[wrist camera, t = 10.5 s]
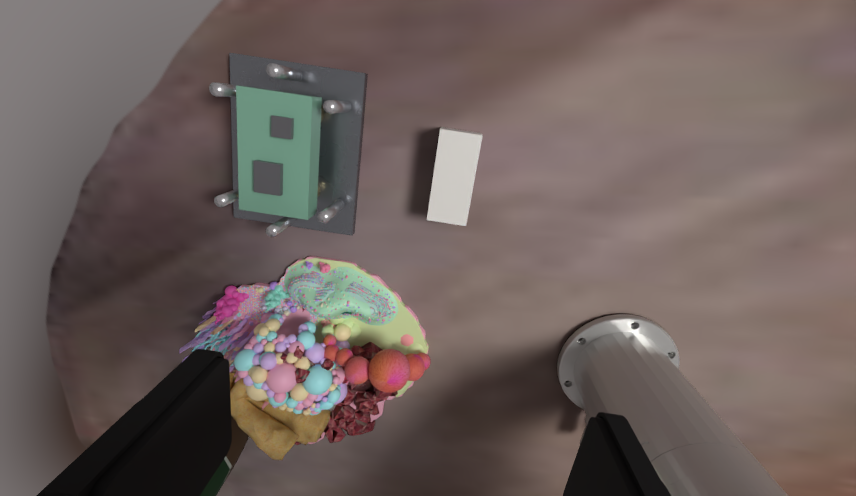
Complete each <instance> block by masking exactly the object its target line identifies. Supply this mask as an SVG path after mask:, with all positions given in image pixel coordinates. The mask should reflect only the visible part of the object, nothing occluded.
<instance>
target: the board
mask: <svg viewBox="0 0 856 496" xmlns="http://www.w3.org/2000/svg"><path fill="white" fill-rule="evenodd" d="M236 103H237V146H238V189H239V210H246V211H252V212H259V213H265V214H272V215H279V216H285V217H292V218H298V219H305V220H308V219H309V218H311V217H312V216H313V215H315V214H316V213H317V194H318V172H319V150H320V128H321V106H322V98H321V97H315V96H308V95H301V94H295V93H288V92H281V91H275V90H268V89H261V88H255V87H247V86H237V85H236Z"/></svg>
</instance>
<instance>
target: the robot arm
mask: <svg viewBox="0 0 856 496" xmlns="http://www.w3.org/2000/svg"><path fill="white" fill-rule="evenodd" d="M679 362H680V359H679V353H678V349H677V347H676V345H675V342H674V341H673V339H672V338H671V337H670V336H669V334H668V333H667V332H666V331H665V330H664V329H663V328H662V327H661V326H659V325H658V324H656V323H655V322H653V321H651V320H649V319H646V318H644V317H641V316H636V315H631V314H616V315H609V316H605V317H601V318H598V319H595V320H593V321H591V322H589V323H587V324H585V325H584V326H582V327H581V328H579V329H578V330H576V331H575V332H574V333H573V334H572V335H571V336H570V337H569V338H568V340H567V341H566V343H565V344H564V346H563V347H562V349H561V352H560V354H559V357H558V362H557V374H558V378H559V381H560V384H561V386H562V389H563V391H564V393H565V394H566V395H567V397H568V398H569V399H570V400H571V401H572V402H573V403H574V404H575V405H577V406H578V407H580V408H582V409H583V410H584V411H585V413H586V417H585V422H586V424H587V425H586V428H585V429H584V432H583V434H582V437H581V440H580V447H579V450H578V453H577V456H576V458H575V461H574V464H573V467H572V470H571V473H570V476H569V478H568V481H567V484H566V487H565V490H564V493H563V496H788V495H787V494H786V492H785V491H784V490H783V489H782V488H781V487H780V486H779V485H778V484H777V482H776V481H775V480H774V479H773V478H772V477H771V475H770V474H769V473H768V472H767V471H766V470H765V469H764V467H763V466H762V465H761V464H760V463H759V462H758V460H757V459H756V458H755V457H754V456H753V455H752V454H751V452H750V451H749V450H748V449H747V448H746V447H745V445H744V444H743V443H742V442H741V441H740V440H739V439H738V437H737V436H736V435H735V434H734V433H733V432H732V430H731V429H730V428H729V427H728V426H727V425H726V424H725V422H724V421H723V420H722V419H721V418H720V417H719V415H718V414H717V413H716V412H715V411H714V410H713V409H712V407H711V406H710V405H709V404H708V403H707V402H706V400H705V399H704V398H703V397H702V396H701V395H700V394H699V392H698V391H697V390H696V389H695V388H694V387H693V385H692V384H691V383H690V382H689V381H688V380H687V379H686V377H685V376H684V375H683V374H682V373H681V372H680V370H679ZM231 442H232V427H231V398H230V370H229V361H228V359H224V356H223V354H222V353H221V352H217V351H211V350H205V349H196V350H195V351H194V352H192V353H191V354H190V355H189V356H188V357H187V358H186V359H185V360H184V361H183V362H182V363H181V364H180V365H178V366H177V367H176V368H175V369H174V370H173V371H172V372H171V373H170V374H169V375H168V376H167V377H166V378H164V379H163V380H162V381H161V382H160V383H159V384H158V385H157V386H156V387H155V388H154V389H153V390H152V391H150V392H149V393H148V394H147V395H146V396H145V397H144V398H143V399H142V400H140V401H139V402H138V403H136V404H135V405H134V406H133V407H132V408H131V409H130V410H129V411H128V412H126V413H125V414H124V415H123V416H122V417H121V418H120V419H119V420H118V421H117V422H116V423H115V424H114V425H112V426H111V427H110V428H109V429H108V430H107V431H106V432H105V433H104V434H103V435H102V436H101V437H99V438H98V439H97V440H96V441H95V442H94V443H93V444H92V445H91V446H90V447H89V448H88V449H86V450H85V451H84V452H83V453H82V454H81V455H80V456H79V457H78V458H77V459H76V460H75V461H74V462H72V463H71V464H70V465H69V466H68V467H67V468H66V469H65V470H64V471H63V472H62V473H61V474H59V475H58V476H57V477H56V478H55V479H54V480H53V481H52V482H51V483H50V484H49V485H48V486H46V487H45V488H44V489H43V490H42V491H41V492H40V493H39V494H38V495H37V496H200V495H201V493H202V492H203V490H204V489H205V487H206V486H207V484H208V483H209V481H210V480H211V478H212V476H213V475H214V473H215V472H216V470H217V469H218V467H219V466H220V464H221V463H222V461H223V460H224V458H225V457H226V455H227V453H228V451H229V449H230V446H231Z"/></svg>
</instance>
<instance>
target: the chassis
mask: <svg viewBox="0 0 856 496" xmlns="http://www.w3.org/2000/svg"><path fill="white" fill-rule="evenodd" d="M367 75H368V74H366V73H360V72H353V71H346V70H340V69H333V68H327V67H320V66H313V65H307V64H300V63H294V62H287V61H280V60H274V59H267V58H261V57H254V56H247V55H241V54H234V53H230V84H224V83H211V84H210V86H209V90H210V93H211V94H212V95H214V96H219V97H231V129H232V168H233V190H232V191H229V192H227V193H224V194H221V195H219V196H216V197H215V198H214V203H215V204H216V206H218V207H224V206H226V205H228V204H231V203H233V206H234V217H235V218H242V219H248V220H255V221H261V222H268V223H273V224H272V225H270V226H269V227H267V228H266V233H267V235H268V236H270V237H275V236H276V235H278V234H279V233H280V232H282V231H283V230H284V229H286V228H287V227H289V226H294V227H300V228H307V229H313V230H320V231H326V232H333V233H339V234H346V235H353V234H354V232H355V220H356V208H357V196H358V184H359V172H360V160H361V148H362V136H363V124H364V112H365V99H366V87H367ZM236 85H237V86H247V87H255V88H261V89H268V90H275V91H281V92H288V93H295V94H301V95H308V96H315V97H321V98H322V106H321V128H320V150H319V172H318V194H317V213H316V214H315V215H313V216H312V217H311V218H309V219H308V220H305V219H298V218H292V217H285V216H279V215H272V214H265V213H259V212H252V211H246V210H239V189H238V146H237V103H236Z"/></svg>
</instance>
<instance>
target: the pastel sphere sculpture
mask: <svg viewBox="0 0 856 496" xmlns="http://www.w3.org/2000/svg"><path fill="white" fill-rule="evenodd" d="M281 276H282V275H281ZM280 279H281V280H280V282H272V283H271V284H265V283H255V284H253V285H245V284H244V285H241V286H240V287H238V288H237V287H235V286H232V285H231V286H228V287H227V288H226V289H225V294H226V295H224V296H223V297H221V298H220V299H219V300H217V301H216V302H214V303H213V304H215V303H216V305H217V306H216V307H214V309H213V310H210V311H207V312H206V313H205V315H204V316H203V317H202V318H203V319H204V320H203V321H202V322H200V323H199V324H200V325H199V326H198V327H197V328H196V329H195V333H196V332H198V331H199V330H200V332H199V333H198V334H197V335H196V337H195V338H194V339H193V340H191V341H190V342H189V343H187V344H186V345H184V346H183V347H181V348H180V349H179V354H180V353H182V352H183V351H185V350H186V349H188V348H190V347H191V346H192V347H194V349H193V350H192V351H191V352H193V351H194V350H196V349H205V350H206V349H207V348H208V347H210V346H211V347H210V348H209V349H208V350H211V351H217V352H221V353H222V354H223V356H224V359H228V361H229V370H230V398H231V416H232V417H233V418H234V419H235V420H236V422H237V424H238V426H239V427H240V428H241V429H242V430H243V431H244V432H245V433H246V434H247V435H248V436H249V437H251V438H252V439H253V440H254V442H255V443H256V445H257V447H258V448H260V449H261V450H263V451H264V452H265V453H266V454H267V455H268V456H270V457H271V458H272V459H273V460H282V459H283V457H284V455H285V454H286V453H287V452H288V451H289V450H290V449H291V448H292V446H293V445H294V444H296V445H299V444H301V443H302V444H304V445H306V444H307V443H308V444H314V443H315V442H318V441H319V440H321V439H323V438H324V435H326V437H327V439H328V440H329V442H330V443H333V442H339V441H341V440H342V439H343V438H344V436H345V435H346V434H345V433H344V432H343V431H342V429H341V428H343V429H345V430H346V431H347V434H348V435H352V436H354V435H360V434H363V433H366V432H369V431H372V430H373V428H374V425H375V419H377V418H378V417H380V416H381V415H382V413H383V407H384V401H385V400H391V399H393V398H394V397H401V396H402V395H403V393H404V392H405V391H406V390H407V389H408V388H409V387H411V386H412V385H413V383H414V381H416V380H418V379H419V378H420V377H421V376H422V375H423V373H424V370H427V369H428V368H429V366H430V358H429V356H428V355H427V353H428V346H429V345H428V343H427V341H426V339H425V330H424V329H423V328H422V326H421V325H420V324H419V321H418V317H417V316H416V315H415V314H414V312H413V311H412V310H411V309H410V307H409V306H407V305H405V304H404V303H403V302H402V299H401V297H400V296H399V295H398V293H397V292H396V291H393V290H392V289H390V288H389V287H388V286H387V285H386V284H385V282H384V281H383V280H382V279H381V278H380V276H378V275H375V274H370V273H368V272H367V271H366V270H365V269H363V268H360V267H359V266H357V264H356V263H354V262H349V261H344V260H337V259H330V258H324V257H317V256H308V257H307V258H305V259H298V260H297V261H296V262H295V263H293V264H292V265H291V266H290V267H288V268H287V270H286V273H285V275H284V276H283V277H282V278H280ZM214 311H216V312H215V313H214V314H213V312H214ZM211 314H213V315H214V316H212V317H211V318H210V319H208V318H209V317H210V315H211ZM205 318H206V319H205ZM207 319H208V320H207ZM204 321H205V322H204ZM201 323H202V324H201ZM208 337H210V338H209V339H208V340H206V339H207V338H208ZM205 340H206V341H205ZM207 343H210V344H208V345H206V346H205V345H204V344H207ZM192 347H191V348H192ZM188 356H189V355H188ZM188 356H187V357H188ZM187 357H185V358H184V359H183V361H184V360H185V359H186V358H187ZM183 361H182V362H183ZM182 362H181V363H182Z"/></svg>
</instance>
